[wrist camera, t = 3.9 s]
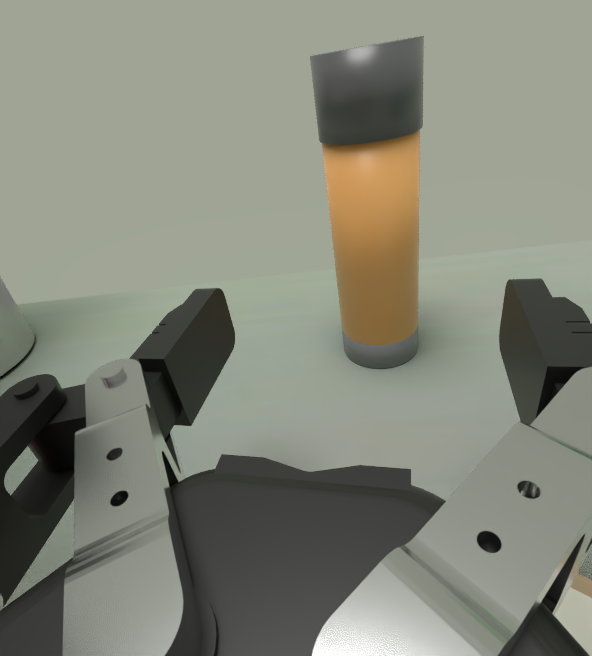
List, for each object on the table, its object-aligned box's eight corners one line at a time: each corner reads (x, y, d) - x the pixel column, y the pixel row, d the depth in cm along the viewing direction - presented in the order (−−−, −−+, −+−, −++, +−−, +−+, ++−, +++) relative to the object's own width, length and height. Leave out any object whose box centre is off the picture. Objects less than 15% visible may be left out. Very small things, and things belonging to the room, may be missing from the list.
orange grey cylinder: (328, 356, 23) (287, 60, 16) (365, 318, 26) (346, 48, 18) (398, 379, 21) (390, 42, 13) (431, 334, 23) (441, 32, 16)
